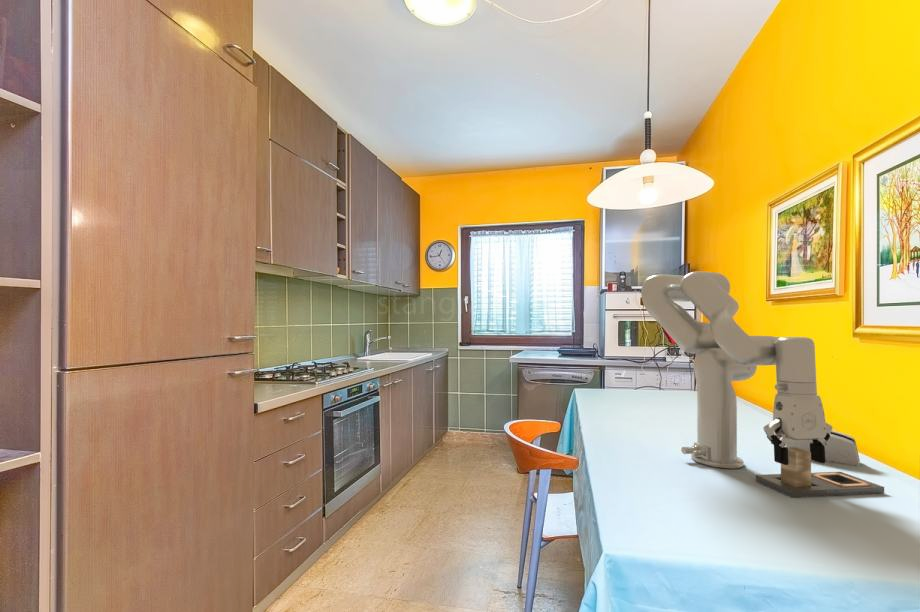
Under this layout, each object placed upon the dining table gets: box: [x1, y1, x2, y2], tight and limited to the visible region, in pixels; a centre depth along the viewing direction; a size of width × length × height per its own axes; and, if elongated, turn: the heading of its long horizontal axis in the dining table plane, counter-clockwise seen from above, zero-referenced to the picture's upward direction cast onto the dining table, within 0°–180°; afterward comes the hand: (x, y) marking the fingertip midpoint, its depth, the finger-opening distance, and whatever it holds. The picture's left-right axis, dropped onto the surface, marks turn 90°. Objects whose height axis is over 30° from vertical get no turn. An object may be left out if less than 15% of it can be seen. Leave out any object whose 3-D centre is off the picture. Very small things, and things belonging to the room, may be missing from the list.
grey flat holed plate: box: [755, 471, 885, 499], centre depth 103 cm, size 24×10×2 cm, turn 98°
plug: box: [780, 447, 812, 487], centre depth 102 cm, size 4×4×9 cm
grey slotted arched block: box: [785, 429, 861, 467], centre depth 125 cm, size 17×5×10 cm, turn 47°
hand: (799, 462), depth 102 cm, fingers open, 9 cm apart
